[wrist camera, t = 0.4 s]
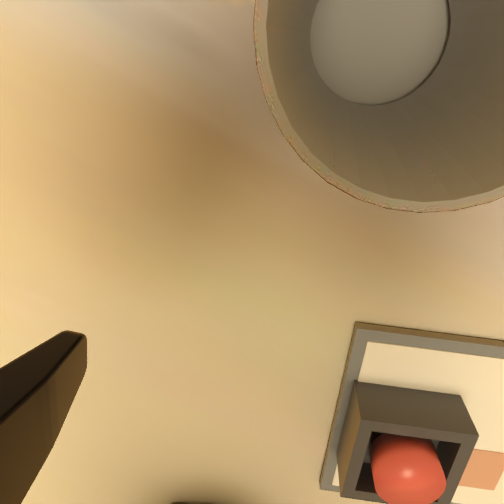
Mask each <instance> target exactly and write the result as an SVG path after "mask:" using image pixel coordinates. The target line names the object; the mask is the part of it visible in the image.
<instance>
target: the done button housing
mask: <svg viewBox="0 0 504 504" xmlns="http://www.w3.org/2000/svg"><path fill="white" fill-rule="evenodd" d="M383 433H388V434H396V435H403V436H410V437H417V438H424V439H431V441H432V442H433V444H434V446H435V449H436V452H437V455H438V458H439V461H440V464H441V466H442V469H443V472H444V475H445V478H446V488H445V491H444V493H443V494H442V495H441V496H440V497H439V498H438V499H437V500H436V501H434V502H432V503H430V504H450V503H451V501H452V498H453V496H454V494H455V491H456V489H457V487H458V484H459V482H460V480H461V477H462V475H463V473H464V470H465V468H466V466H467V463H468V461H469V459H470V456H471V454H472V452H473V449H474V447H475V445H476V442H477V440H478V438H479V434H478V432H477V430H476V427H475V425H474V423H473V421H472V419H471V417H470V415H469V412H468V410H467V408H466V406H465V404H464V402H463V400H462V397H461V395H456V394H448V393H441V392H433V391H426V390H418V389H411V388H403V387H396V386H389V385H381V384H374V383H366V382H359V381H358V380H354V383H353V387H352V391H351V395H350V399H349V403H348V407H347V411H346V416H345V420H344V424H343V428H342V432H341V436H340V440H339V444H338V449H337V453H336V455H337V466H338V476H339V487H340V497H345V498H352V499H359V500H365V501H372V502H379V503H386V504H389V503H387V502H386V501H384V500H383V499H382V498H380V496H379V495H378V494H377V492H376V490H375V485H374V480H373V474H372V468H371V463H370V457H369V449H370V446H371V444H372V442H373V441H374V440H375V439H376V438H377V437H378V436H380V435H381V434H383Z"/></svg>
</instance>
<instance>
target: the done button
mask: <svg viewBox="0 0 504 504" xmlns="http://www.w3.org/2000/svg"><path fill="white" fill-rule="evenodd" d="M369 457H370V463H371V468H372V474H373V480H374V485H375V490H376V492H377V494H378V495H379V496H380V498H382V499H383V500H384V501H386V502H387V503H389V504H430V503H432V502H434V501H436V500H437V499H438V498H439V497H440V496H441V495H442V494H443V493H444V491H445V488H446V478H445V475H444V472H443V469H442V466H441V464H440V461H439V458H438V455H437V452H436V449H435V446H434V444H433V442H432V441H431V439H424V438H417V437H410V436H403V435H396V434H388V433H383V434H381V435H380V436H378V437H377V438H376V439H375V440H374V441H373V442H372V444H371V446H370V449H369Z"/></svg>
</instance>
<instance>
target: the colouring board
mask: <svg viewBox="0 0 504 504" xmlns="http://www.w3.org/2000/svg"><path fill="white" fill-rule="evenodd" d="M354 380H358V381H359V382H366V383H374V384H381V385H389V386H396V387H403V388H411V389H418V390H426V391H433V392H441V393H448V394H456V395H461V397H462V400H463V402H464V404H465V406H466V408H467V410H468V412H469V415H470V417H471V419H472V421H473V423H474V425H475V427H476V430H477V432H478V434H479V438H478V440H477V442H476V445H475V447H474V449H473V452H472V454H471V456H470V459H469V461H468V463H467V466H466V468H465V470H464V473H463V475H462V477H461V480H460V482H459V484H458V487H457V489H456V491H455V494H454V496H453V498H452V501H451V503H450V504H504V341H500V340H492V339H484V338H476V337H468V336H460V335H453V334H445V333H437V332H429V331H421V330H413V329H406V328H398V327H390V326H382V325H374V324H366V323H359V322H356V323H355V328H354V332H353V337H352V341H351V345H350V350H349V354H348V358H347V363H346V367H345V372H344V376H343V380H342V385H341V389H340V394H339V398H338V402H337V407H336V411H335V415H334V420H333V424H332V429H331V433H330V437H329V442H328V446H327V451H326V455H325V459H324V464H323V468H322V472H321V477H320V481H319V482H320V489H321V490H328V491H335V492H340V487H339V476H338V466H337V455H336V453H337V449H338V444H339V440H340V436H341V432H342V428H343V424H344V420H345V416H346V411H347V407H348V403H349V399H350V395H351V391H352V387H353V383H354Z"/></svg>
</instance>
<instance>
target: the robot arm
mask: <svg viewBox="0 0 504 504" xmlns="http://www.w3.org/2000/svg"><path fill="white" fill-rule="evenodd" d="M86 368H87V338H86V336H85V335H84V334H82V333H77V332H73V331H63V332H61V333H59V334H57V335H56V336H54V337H52V338H51V339H49V340H47V341H45V342H44V343H42V344H40V345H39V346H37V347H35V348H34V349H32V350H30V351H28V352H27V353H25V354H23V355H22V356H20V357H18V358H17V359H15V360H13V361H11V362H10V363H8V364H6V365H5V366H3V367H1V368H0V504H21V503H22V501H23V499H24V497H25V496H26V494H27V492H28V490H29V489H30V487H31V485H32V483H33V482H34V480H35V478H36V476H37V475H38V473H39V471H40V469H41V468H42V466H43V464H44V462H45V461H46V459H47V457H48V455H49V453H50V451H51V449H52V448H53V446H54V443H55V441H56V439H57V437H58V435H59V432H60V430H61V428H62V426H63V423H64V421H65V419H66V416H67V414H68V412H69V409H70V407H71V405H72V402H73V400H74V398H75V396H76V393H77V391H78V389H79V386H80V384H81V382H82V379H83V377H84V375H85V372H86Z"/></svg>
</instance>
